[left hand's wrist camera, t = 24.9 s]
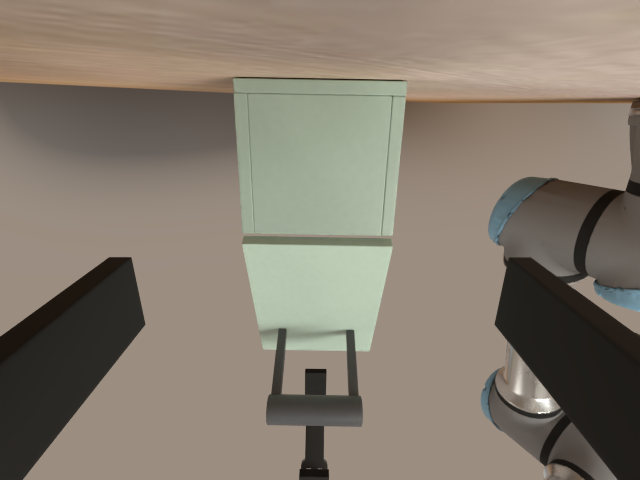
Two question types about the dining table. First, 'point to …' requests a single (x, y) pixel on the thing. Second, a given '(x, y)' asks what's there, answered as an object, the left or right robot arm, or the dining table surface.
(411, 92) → the dining table surface
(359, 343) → the lid
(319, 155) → the chest
